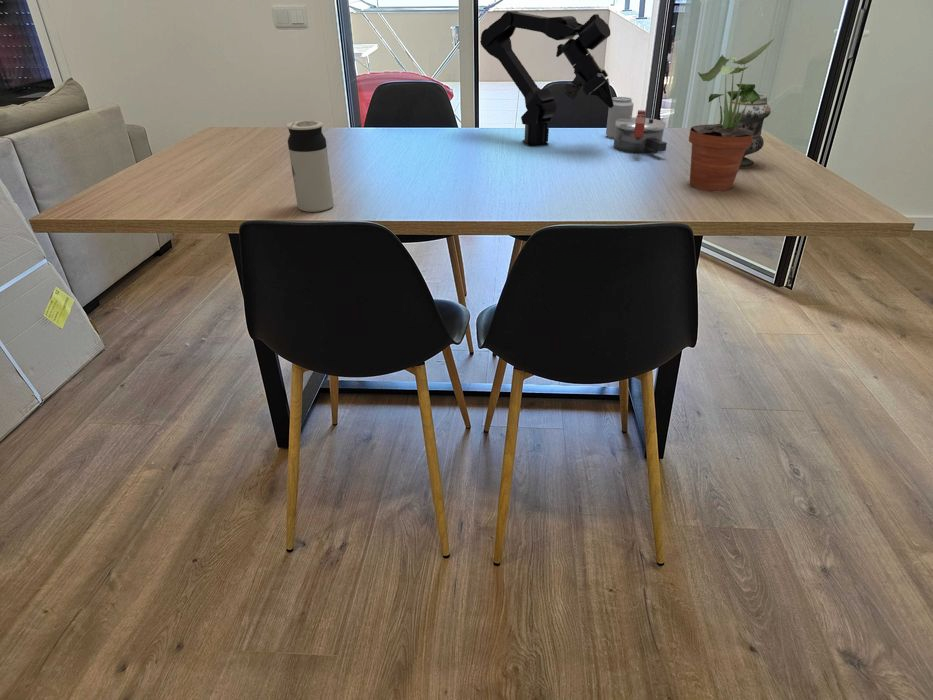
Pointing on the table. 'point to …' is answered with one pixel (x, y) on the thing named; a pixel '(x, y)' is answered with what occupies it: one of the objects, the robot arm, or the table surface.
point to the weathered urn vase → (752, 123)
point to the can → (618, 113)
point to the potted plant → (722, 133)
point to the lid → (640, 124)
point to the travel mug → (310, 166)
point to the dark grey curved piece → (639, 142)
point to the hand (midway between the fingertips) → (612, 107)
